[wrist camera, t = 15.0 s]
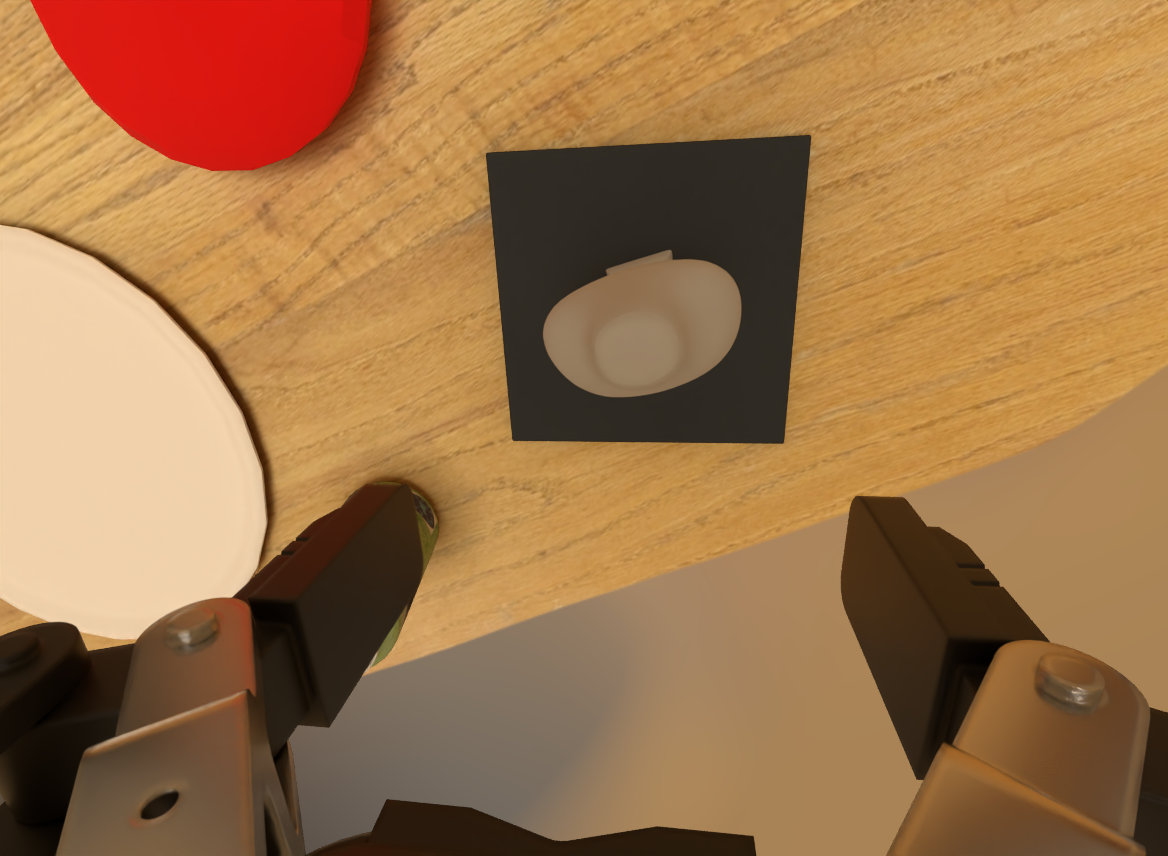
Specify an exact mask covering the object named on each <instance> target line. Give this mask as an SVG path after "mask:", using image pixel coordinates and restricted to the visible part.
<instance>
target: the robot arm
mask: <svg viewBox="0 0 1168 856" xmlns="http://www.w3.org/2000/svg"><path fill="white" fill-rule="evenodd" d="M423 562H424V560H423V551H422V544H421V538H420V532H419V526H418V520H417V514H416V508H415V502H414V496H413V493H412V490H411V488H410V487H409V486H408V485H405V484H366V485H365V486H363V487H362V488H361V489H360V490H359V491H358V492H357V493H356V494H355V495H354V496H353V497H352V498H351V499H350V500H349V501H348V502H347V503H346V504H345V505H344V506H343V507H342V508H338V509H336V510H334V511H332V512H331V513H329V514H327V515H325V516H323V517H321V518H319V519H318V520H316V521H314V522H313V523H312V524H311V525H309V526H308V527H307V528H306V529H305V530H304V531H303V532H302V533H301V534H300V535H299V536H298V537H297V538H296V541H292V542H291V543H290V544H289V545H288V546H287V547H286V548H285V549H284V550H282V554H281V555H277V556H276V557H275V558H274V559H273V560H272V561H271V562H270V563H268V564H267V565H266V566H265V567H264V568H263V569H262V570H261V571H260V572H259V573H258V574H257V575H256V576H254V577H253V578H252V579H251V580H250V581H249V582H248V583H247V584H246V585H245V586H244V587H243V588H241V589H240V590H239V591H238V592H237V593H236V594H235V595H234V596H233V597H232V598H228V597H221V598H212V599H206V600H202V601H198V602H195V603H192V604H189V605H186V606H183V607H181V608H179V609H176V610H174V611H172V612H170V613H168V614H167V615H165V616H163V617H162V618H160V619H158V620H157V621H156V622H154V623H153V624H151V625H150V626H149V627H148V628H147V629H146V630H145V631H144V632H143V633H142V634H141V635H140V636H139V638H138V639H137V641H136V642H135V643H134V644H128V645H122V646H116V647H110V648H104V649H98V650H92V651H87V648H86V646H85V644H84V641H83V639H82V637H81V634H80V632H79V630H78V628H77V627H76V626H75V625H73V624H71V623H67V622H48V623H41V624H37V625H32V626H28V627H25V628H22V629H18V630H16V631H13V632H10V633H7V634H5V635H2V636H0V793H1V795H2V797H3V799H4V800H5V802H4V803H3V804H2V805H1V806H0V856H756V851H755V843H754V837H753V836H746V835H737V834H727V833H718V832H708V831H697V830H688V829H678V828H668V827H658V826H657V827H651V828H645V829H639V830H632V831H626V832H620V833H614V834H607V835H601V836H595V837H589V838H583V839H576V840H570V841H555V840H551V839H548V838H545V837H543V836H540V835H538V834H536V833H533V832H531V831H528V830H526V829H523V828H521V827H518V826H516V825H513V824H510V823H508V822H506V821H503V820H501V819H498V818H495V817H493V816H490V815H488V814H485V813H483V812H480V811H478V810H475V809H473V808H468V807H459V806H449V805H438V804H429V803H418V802H409V801H399V800H389V799H387V800H386V802H385V804H384V806H383V808H382V810H381V813H380V815H379V817H378V819H377V821H376V823H375V825H374V828H373V830H372V832H368V833H362V834H359V835H355V836H352V837H348V838H345V839H342V840H339V841H336V842H334V843H332V844H329V845H326V846H324V847H321V848H319V849H317V850H315V851H313V852H311V853H309V854H307V855H306V852H305V844H304V837H303V830H302V823H301V822H302V821H301V813H300V806H299V798H298V790H297V782H296V775H295V766H294V759H293V752H292V748H291V745H290V742H289V737H290V736H291V734H292V733H293V731H294V730H295V728H296V727H297V726H298V725H305V726H316V727H328V728H329V727H330V725H331V724H332V722H333V721H334V719H335V718H336V716H337V714H338V713H339V711H340V710H341V708H342V707H343V705H344V703H345V702H346V700H347V699H348V697H349V696H350V694H351V692H352V691H353V689H354V687H355V686H356V685H357V683H358V681H359V680H360V678H361V677H362V675H363V673H364V672H365V670H366V669H367V667H368V666H369V664H370V662H371V661H372V659H373V658H374V656H375V655H376V653H377V651H378V650H379V648H380V647H381V645H382V644H383V642H384V640H385V639H386V637H387V636H388V634H389V633H390V631H391V629H392V628H393V626H394V625H395V623H396V621H397V620H398V618H399V617H400V615H401V614H402V612H403V610H404V609H405V607H406V606H407V604H408V603H409V601H410V599H411V598H412V596H413V595H414V593H415V592H416V590H417V588H418V586H419V584H420V581H421V578H422V573H423ZM841 593H842V600H843V605H844V608H845V611H846V614H847V616H848V618H849V620H850V623H851V625H852V628H853V630H854V632H855V635H856V637H857V640H858V642H859V644H860V647H861V649H862V651H863V654H864V656H865V658H866V661H867V663H868V666H869V668H870V670H871V673H872V675H873V677H874V679H875V682H876V684H877V687H878V689H879V691H880V694H881V696H882V699H883V701H884V703H885V706H886V708H887V710H888V713H889V715H890V717H891V720H892V722H893V725H894V727H895V729H896V732H897V734H898V736H899V739H900V741H901V743H902V746H903V748H904V751H905V753H906V755H907V758H908V760H909V763H910V765H911V767H912V770H913V772H914V774H915V777H916V779H918V780H923V782H922V784H921V786H920V788H919V790H918V792H917V794H916V796H915V799H914V801H913V803H912V804H911V807H910V809H909V811H908V813H907V815H906V817H905V819H904V821H903V823H902V825H901V827H900V829H899V831H898V833H897V835H896V837H895V839H894V841H893V843H892V845H891V847H890V849H889V851H888V853H887V855H886V856H1168V713H1167V712H1163V711H1160V710H1157V709H1154V708H1150V707H1149V706H1148V703H1147V701H1146V699H1145V698H1144V696H1143V694H1142V693H1141V692H1140V691H1139V690H1138V689H1137V687H1136V686H1135V685H1134V684H1133V683H1132V682H1130V681H1129V680H1128V679H1127V678H1126V677H1125V676H1123V675H1122V674H1121V673H1119V672H1118V671H1117V670H1115V669H1113V668H1112V667H1110V666H1109V665H1107V664H1105V663H1104V662H1102V661H1100V660H1098V659H1096V658H1094V657H1092V656H1090V655H1087V654H1085V653H1083V652H1080V651H1078V650H1075V649H1072V648H1069V647H1066V646H1062V645H1059V644H1055V643H1051V642H1050V641H1049V640H1048V639H1047V638H1046V637H1045V635H1044V634H1043V633H1042V632H1041V631H1040V630H1039V628H1038V627H1037V626H1036V625H1035V624H1034V623H1033V621H1032V620H1031V619H1030V618H1029V617H1028V615H1027V614H1026V613H1025V612H1024V611H1023V610H1022V608H1021V607H1020V606H1019V605H1018V604H1017V602H1016V601H1015V600H1014V599H1013V598H1012V597H1011V595H1010V594H1009V593H1008V592H1007V591H1006V590H1005V588H1004V587H1000V585H999V581H998V580H997V579H996V578H995V576H994V575H993V574H992V573H991V572H990V571H989V570H988V569H985V565H984V564H983V562H982V561H981V560H980V559H979V558H978V556H976V554H975V553H974V552H973V551H972V549H971V548H970V547H969V546H968V545H967V544H966V543H964V542H962V541H961V540H959V539H958V538H956V537H954V536H953V535H951V534H950V533H948V532H946V531H945V530H943V529H941V528H940V527H927V526H926V524H925V523H924V522H923V521H922V520H921V518H920V517H919V515H918V514H917V513H916V512H915V510H914V509H913V508H912V506H911V505H910V504H909V502H908V501H907V500H906V499H905V498H903V497H876V496H856V497H855V498H854V499H853V501H852V503H851V507H850V512H849V519H848V527H847V534H846V542H845V549H844V556H843V564H842V571H841Z"/></svg>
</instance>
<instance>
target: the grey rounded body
mask: <svg viewBox="0 0 1168 856" xmlns="http://www.w3.org/2000/svg"><path fill="white" fill-rule="evenodd" d="M606 273H607V276H605V277H603V278H600V279H598V280H596V281H594V282H591V283H589V284H587V285H585V286H583V287H581V288H579V289H577V290H576V291H574V292H572V293H571V294H569V295H568V296H566V297H565V298H563V299H562V300H561V301H560V302H559V303H557V304H556V305H555V306H554V307H553V309H552V310H551V312H550V313H549V315H548V316H547V319H546V322H545V324H544V330H543V338H544V344H545V347H546V350H547V352H548V355H549V356H550V358H551V360H552V361H553V363H554V364H555V366H556V367H557V368H558V370H559V371H560V372H561V373H562V374H563V375H564V376H565V377H566V378H567V379H568V380H570V381H571V382H572V383H574V384H575V385H577V386H578V387H580V388H582V389H584V390H586V391H588V392H591V393H594V394H597V395H602V396H607V397H633V396H641V395H647V394H653V393H657V392H661V391H665V390H668V389H671V388H674V387H677V386H680V385H682V384H685V383H687V382H689V381H691V380H694V379H696V378H698V377H699V376H701V375H703V374H705V373H706V372H708V371H709V370H711V369H712V368H713V367H714V366H716V365H717V364H718V363H719V362H720V361H721V360H722V359H723V358H724V357H725V355H726V354H727V353H728V351H729V350H730V348H731V347H732V345H733V343H734V341H735V339H736V336H737V333H738V330H739V326H740V320H741V297H740V293H739V290H738V287H737V285H736V283H735V281H734V279H733V278H732V277H731V276H730V275H729V274H728V272H727V271H725V270H724V269H722V268H721V267H719V266H717V265H715V264H712V263H710V262H707V261H701V260H692V259H682V260H673V257H672V251H671V250H666V251H663V252H660V253H657V254H653V255H650V256H647V257H643V258H640V259H637V260H634V261H630V262H627V263H624V264H621V265H618V266H614V267H611V268H608V269H607V270H606Z"/></svg>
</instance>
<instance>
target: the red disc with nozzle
mask: <svg viewBox="0 0 1168 856" xmlns="http://www.w3.org/2000/svg"><path fill="white" fill-rule="evenodd" d="M31 2H32V4H33V6H34V8H35V10H36V12H37V14H38V16H39V18H40V20H41V22H42V24H43V26H44V28H45V30H46V32H47V34H48V36H49V38H50V40H51V42H52V44H53V46H54V48H55V50H56V51H57V53H58V54H59V56H60V57H61V59H62V60H63V61H64V63H65V64H66V65H67V67H68V68H69V70H70V71H71V72H72V74H73V75H74V76H75V78H76V79H77V80H78V82H79V83H80V84H81V86H82V87H83V88H84V90H85V91H86V92H87V94H88V95H89V96H90V98H91V99H92V100H93V102H94V103H95V104H96V105H98V106H99V107H100V108H101V109H102V110H103V111H104V112H105V113H106V114H107V115H108V116H110V117H111V118H112V119H113V120H114V121H115V122H116V123H117V124H118V125H119V126H121V127H122V128H123V129H124V130H125V131H126V132H127V133H128V134H129V135H130V136H132V137H134V138H135V139H137V140H139V141H140V142H142V143H144V144H146V145H147V146H149V147H151V148H153V149H154V150H156V151H158V152H159V153H161V154H163V155H165V156H166V157H168V158H170V159H172V160H176V161H179V162H183V163H186V164H190V165H193V166H197V167H200V168H204V169H208V170H211V171H230V170H254V169H257V168H260V167H263V166H265V165H268V164H271V163H274V162H277V161H279V160H282V159H285V158H288V157H290V156H292V155H293V154H295V153H296V152H298V151H299V150H300V149H302V148H303V147H304V146H305V145H307V144H308V143H309V142H310V141H312V140H313V139H314V138H315V137H317V136H318V135H319V134H320V133H322V132H323V131H324V130H325V129H327V128H328V127H329V126H330V124H331V123H332V121H333V120H334V119H335V117H336V116H337V114H338V113H339V111H340V110H341V108H342V107H343V105H344V104H345V102H346V101H347V99H348V98H349V96H350V95H351V93H352V92H353V89H354V86H355V83H356V80H357V77H358V74H359V71H360V68H361V65H362V62H363V59H364V56H365V53H366V50H367V46H368V35H369V24H370V13H371V2H372V0H31Z"/></svg>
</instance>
